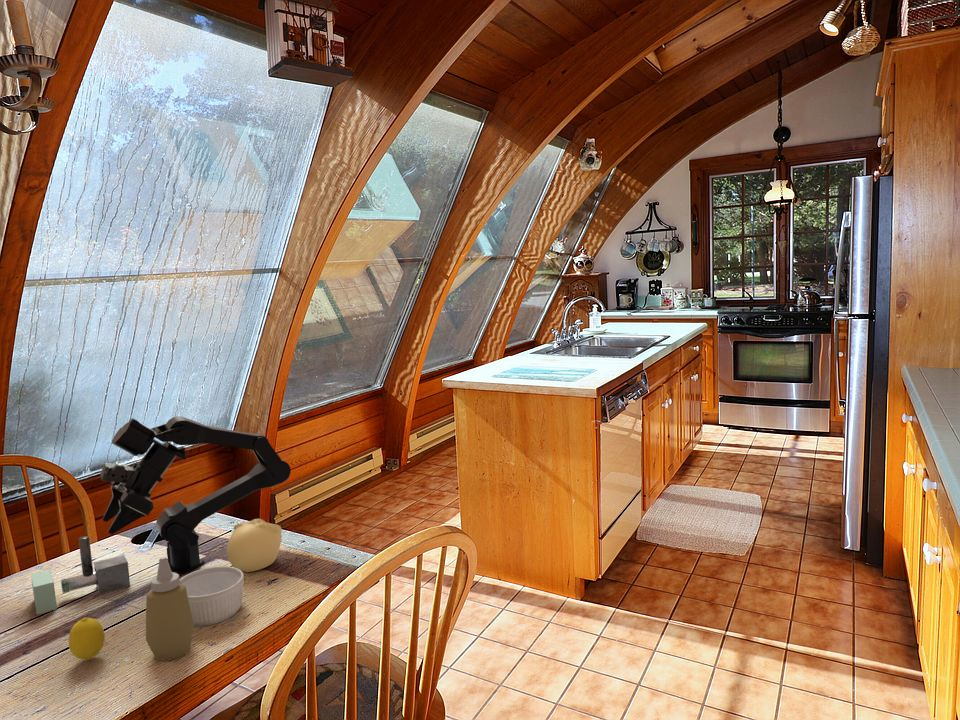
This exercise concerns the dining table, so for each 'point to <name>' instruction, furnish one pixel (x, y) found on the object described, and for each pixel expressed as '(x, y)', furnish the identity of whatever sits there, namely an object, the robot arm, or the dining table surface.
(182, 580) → the ramekin
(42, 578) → the socket block
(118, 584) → the grey cubic block
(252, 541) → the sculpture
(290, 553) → the dining table surface
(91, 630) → the lemon
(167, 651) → the squeeze bottle
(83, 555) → the dark grey l-shaped piece
